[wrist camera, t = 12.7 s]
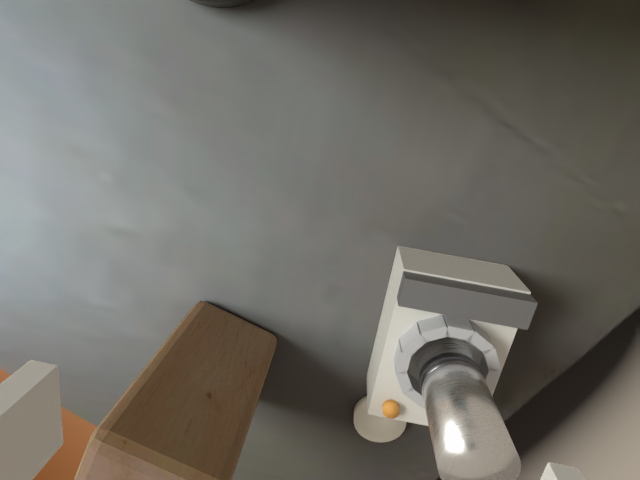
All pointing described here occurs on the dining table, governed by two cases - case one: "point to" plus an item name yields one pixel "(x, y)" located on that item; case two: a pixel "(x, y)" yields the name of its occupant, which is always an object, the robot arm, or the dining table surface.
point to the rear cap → (376, 424)
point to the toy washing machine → (441, 323)
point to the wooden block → (186, 404)
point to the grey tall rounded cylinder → (463, 415)
